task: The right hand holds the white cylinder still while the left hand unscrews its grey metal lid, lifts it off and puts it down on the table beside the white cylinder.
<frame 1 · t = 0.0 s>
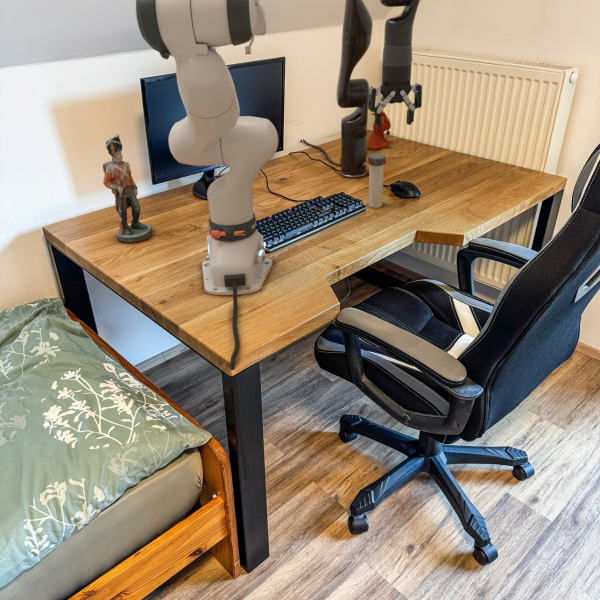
left hand: (231, 54, 151), 48 cm above the table, tool pointing down, fingers open, 8 cm apart
right hand: (393, 125, 155), 29 cm above the table, tool pointing down, fingers open, 8 cm apart
toy: (371, 145, 236), on the table
figurine: (134, 236, 169), on the table
white cylinder: (375, 205, 182), on the table
lid: (377, 157, 174), point 16 cm above the table, screwed on, not yet turned
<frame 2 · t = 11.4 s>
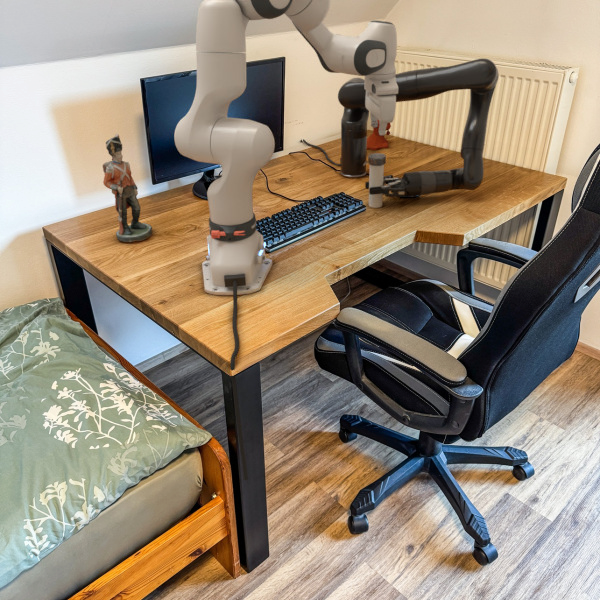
left hand: (378, 130, 170), 24 cm above the table, tool pointing down, fingers open, 7 cm apart
right hand: (367, 188, 179), 6 cm above the table, tool horizontal, fingers closed on white cylinder, 4 cm apart
white cylinder: (375, 205, 182), on the table, touching right hand
everything else where it was.
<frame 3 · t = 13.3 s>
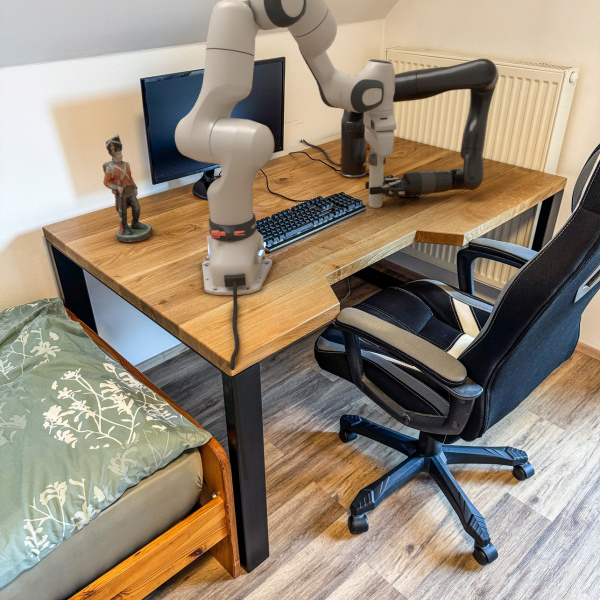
left hand: (376, 162, 175), 14 cm above the table, tool pointing down, fingers closed on lid, 5 cm apart
right hand: (367, 188, 179), 6 cm above the table, tool horizontal, fingers closed on white cylinder, 4 cm apart
white cylinder: (375, 205, 182), on the table, touching right hand
lid: (377, 156, 174), point 16 cm above the table, screwed on, not yet turned, touching left hand
everything else where it was.
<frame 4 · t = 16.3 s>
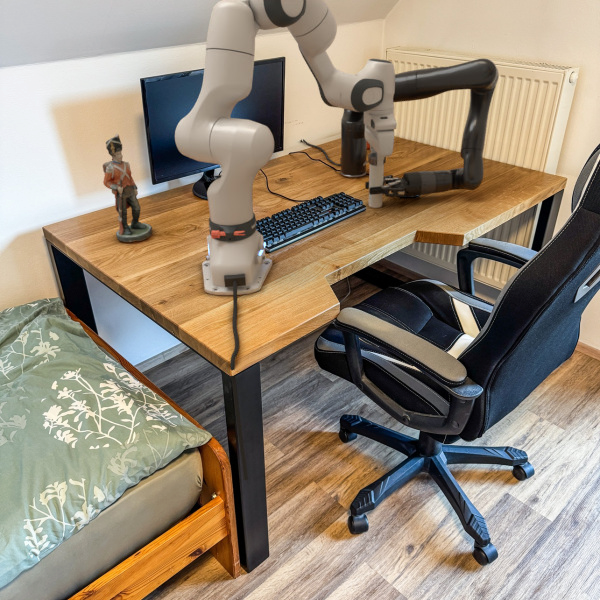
left hand: (377, 162, 175), 14 cm above the table, tool pointing down, fingers closed on lid, 5 cm apart
right hand: (367, 188, 179), 6 cm above the table, tool horizontal, fingers closed on white cylinder, 4 cm apart
white cylinder: (375, 205, 182), on the table, touching right hand
lid: (377, 156, 174), point 16 cm above the table, turned 70° so far, risen 0.2 cm, still on its thread, touching left hand
everything else where it was.
when the left hand's fingers open (2 cm above the table, at t = 26.2 s): lid drops 2 cm, point 2 cm above the table.
when the right hand's fingers open (6 cm above the table, at t = 27.3 s): white cylinder stays where it is, on the table.
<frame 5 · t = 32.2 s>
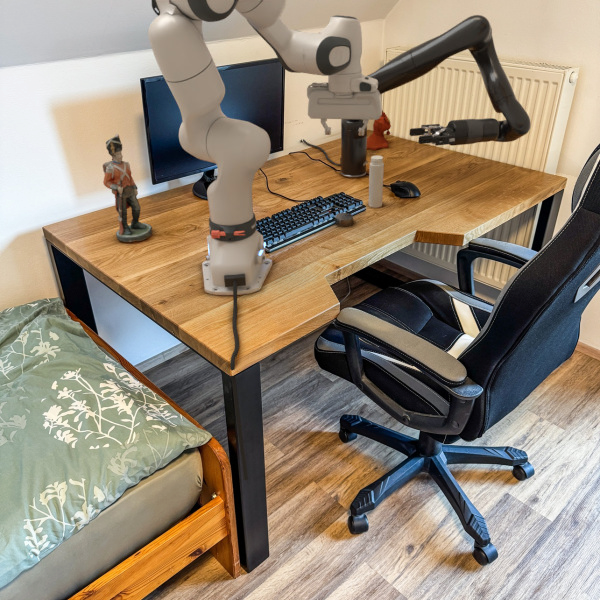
left hand: (344, 134, 157), 27 cm above the table, tool pointing down, fingers open, 8 cm apart
right hand: (414, 136, 172), 21 cm above the table, tool horizontal, fingers open, 8 cm apart
white cylinder: (375, 205, 183), on the table
lid: (344, 217, 170), point 2 cm above the table, off its thread
everything else where it was.
at the end: lid came off its thread; lid point 1.9 cm above the table; the left hand is holding nothing; the right hand is holding nothing; white cylinder tilted 0°; white cylinder moved 0.1 cm from its start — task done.
